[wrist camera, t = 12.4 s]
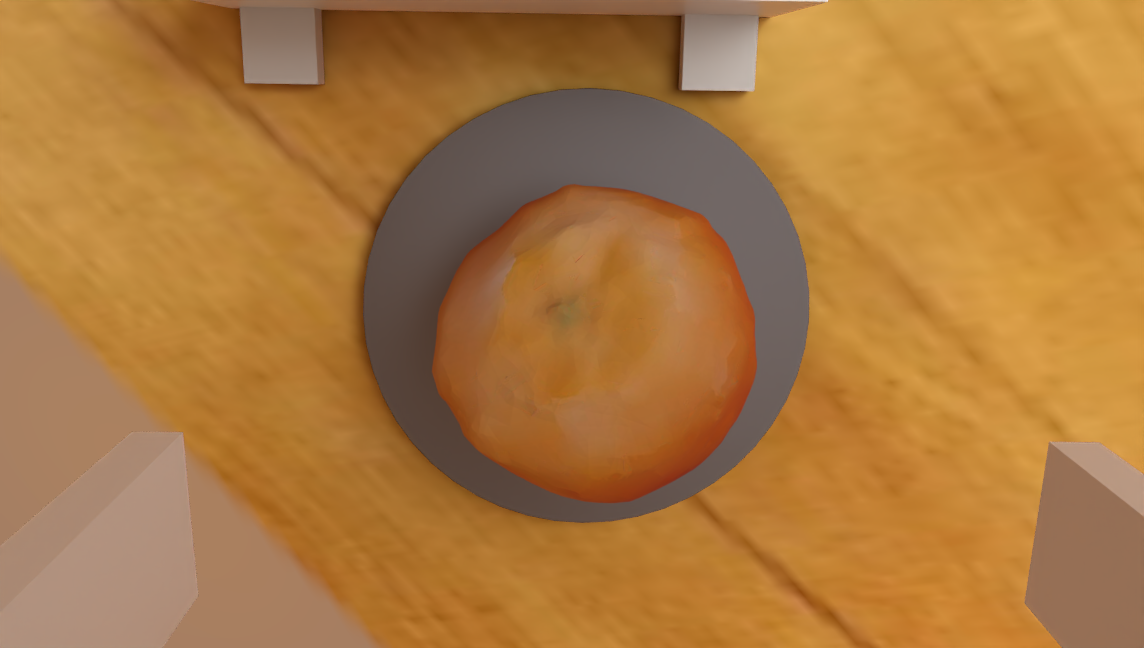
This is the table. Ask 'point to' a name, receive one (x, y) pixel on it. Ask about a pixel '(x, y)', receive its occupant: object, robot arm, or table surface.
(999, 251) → the table surface
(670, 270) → the fruit
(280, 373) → the table surface
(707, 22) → the wall
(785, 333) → the mat
